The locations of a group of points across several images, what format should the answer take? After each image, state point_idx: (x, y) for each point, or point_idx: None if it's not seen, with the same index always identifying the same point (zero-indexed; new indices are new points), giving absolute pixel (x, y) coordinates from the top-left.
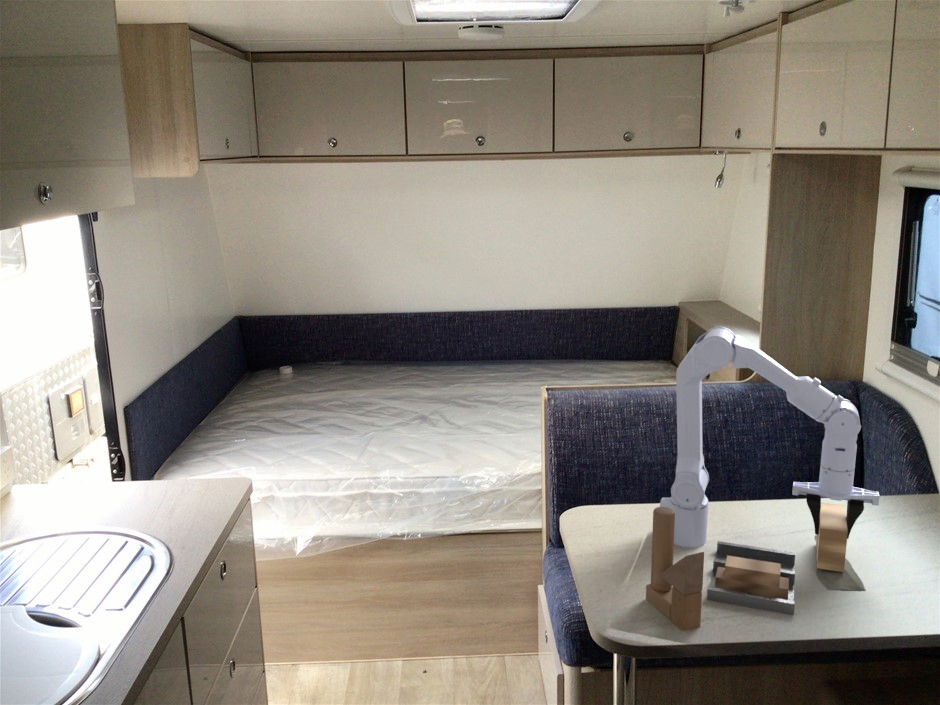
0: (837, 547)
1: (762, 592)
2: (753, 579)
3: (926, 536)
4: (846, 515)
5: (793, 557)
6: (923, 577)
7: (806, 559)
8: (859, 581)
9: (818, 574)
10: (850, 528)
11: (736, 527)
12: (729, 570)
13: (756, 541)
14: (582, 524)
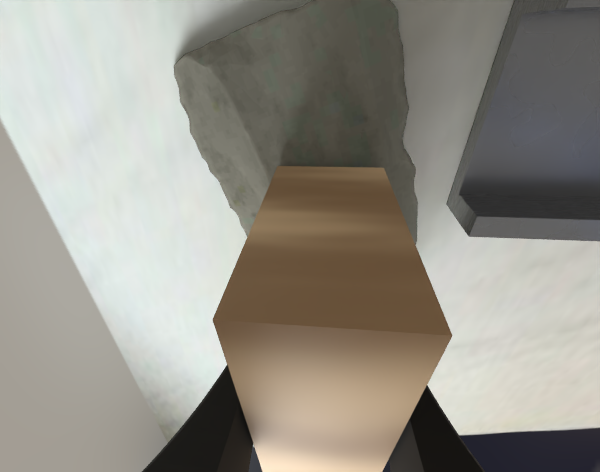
0: (300, 228)
1: None
2: None
3: (143, 379)
4: (251, 449)
5: (478, 210)
6: (84, 243)
7: None
8: (219, 129)
9: (376, 141)
10: (228, 370)
11: (549, 362)
12: None
13: (521, 315)
14: None
